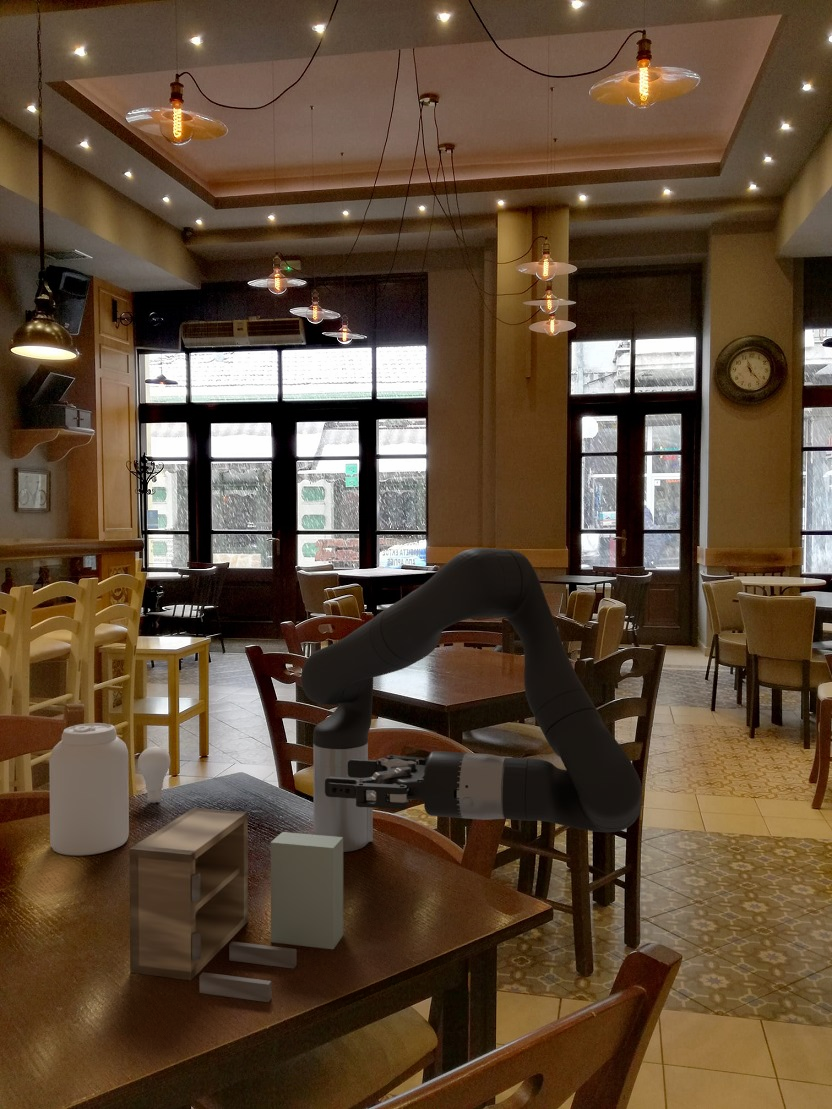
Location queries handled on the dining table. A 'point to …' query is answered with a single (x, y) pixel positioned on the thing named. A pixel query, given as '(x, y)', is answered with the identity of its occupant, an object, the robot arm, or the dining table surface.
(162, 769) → the lightbulb
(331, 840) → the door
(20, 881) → the dining table surface
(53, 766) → the can
